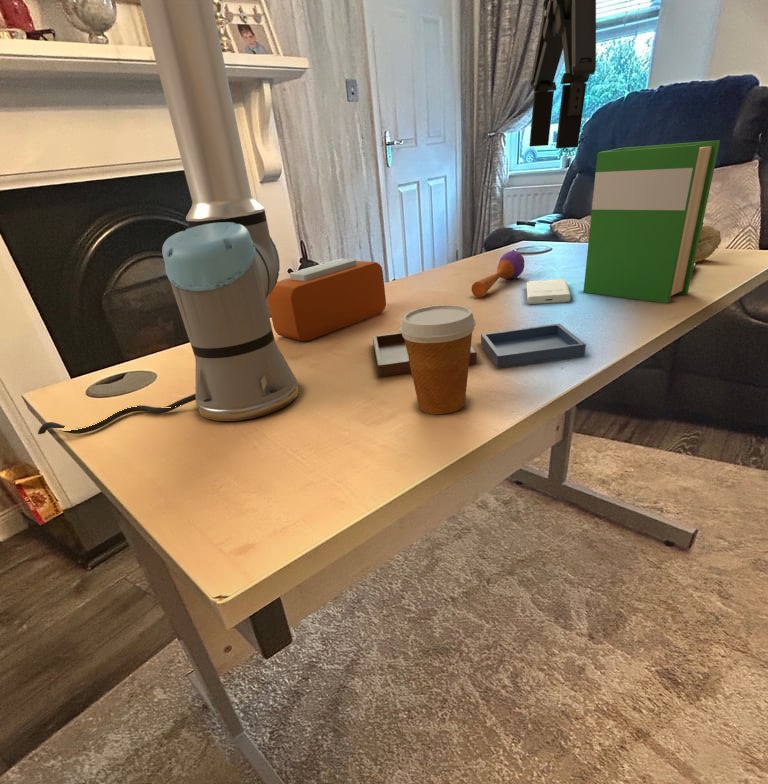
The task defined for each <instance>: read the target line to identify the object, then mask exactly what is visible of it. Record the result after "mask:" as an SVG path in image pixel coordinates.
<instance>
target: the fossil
mask: <svg viewBox="0 0 768 784" xmlns="http://www.w3.org/2000/svg"><path fill="white" fill-rule="evenodd" d="M721 243H722V237H721V231H720V230H719V229H717V228H714V227H713V226H709V225H702V229H701V234H700V238H699V243H698V248H697V253H696V257H695V262H694V263H698V262H702V261H704V260H705V259H706V260H707V258H709V257H711V255H712V254H713V253H714V252H715V251H716V249H717V248H718V247H719V246H720V244H721Z"/></svg>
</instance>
